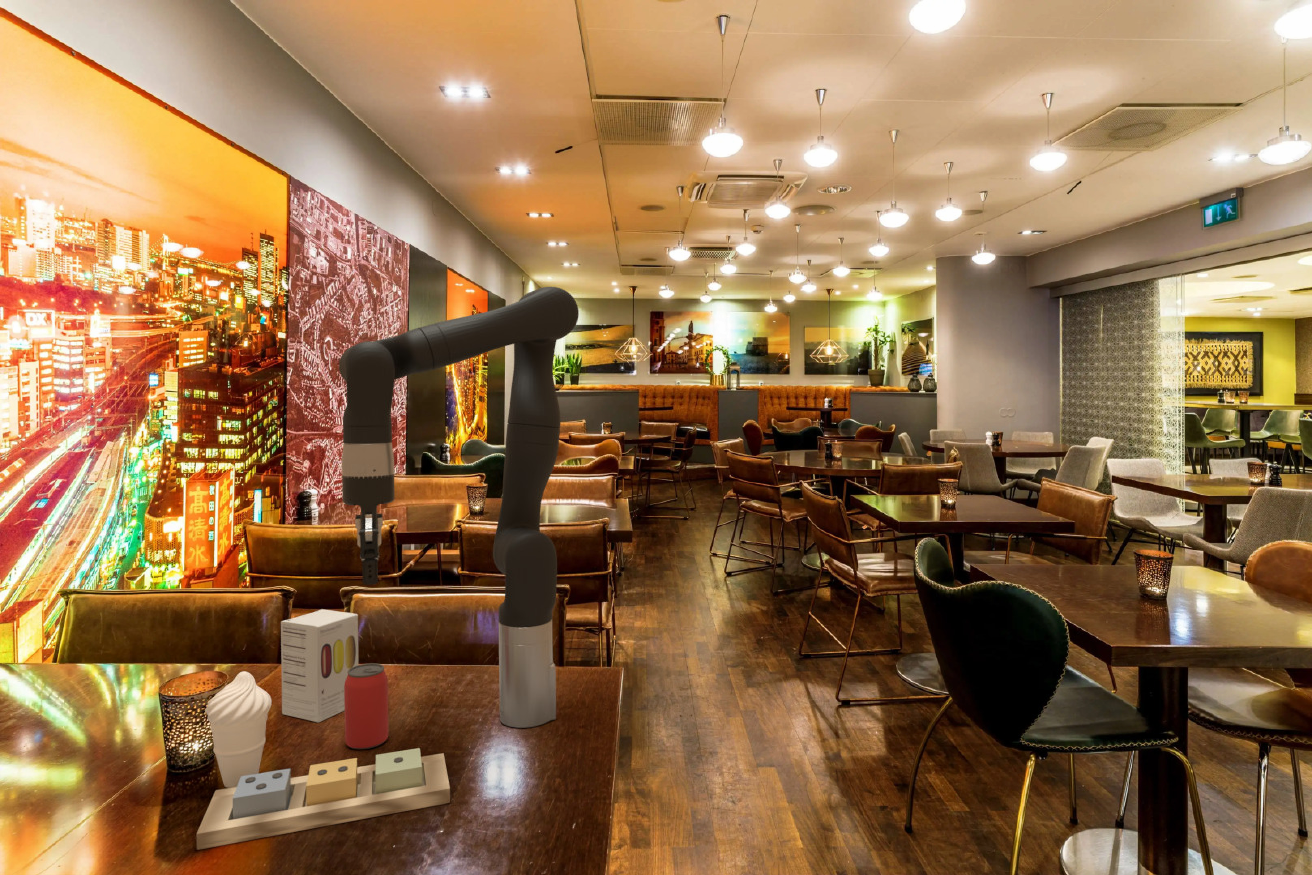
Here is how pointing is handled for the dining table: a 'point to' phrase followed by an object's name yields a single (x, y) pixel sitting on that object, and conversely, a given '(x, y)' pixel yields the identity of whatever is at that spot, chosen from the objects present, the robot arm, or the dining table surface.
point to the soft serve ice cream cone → (239, 727)
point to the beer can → (366, 706)
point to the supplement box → (317, 662)
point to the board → (322, 806)
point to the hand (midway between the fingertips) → (370, 583)
